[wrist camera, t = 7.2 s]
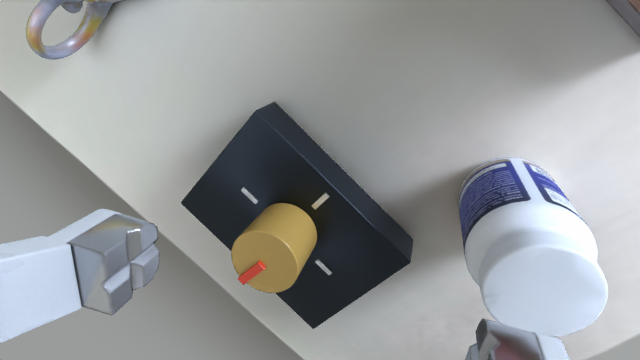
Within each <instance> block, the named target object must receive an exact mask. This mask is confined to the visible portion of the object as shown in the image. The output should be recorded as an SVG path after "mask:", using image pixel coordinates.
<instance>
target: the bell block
mask: <svg viewBox="0 0 640 360" xmlns="http://www.w3.org/2000/svg"><path fill="white" fill-rule="evenodd" d="M607 1H608V2H609V3H610V4H611V5H612V7H613V8H614V9H615V10H616V11H617V12H618V13H619V14H620V15H621V16H622V18H623V19H624V20H625V21H626V22H627V23H628V24H629V25H630V26H631V27H632V29H633V30H634V31H635V32H636V33H637V34H638V35H639V36H640V0H607Z"/></svg>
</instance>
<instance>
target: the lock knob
mask: <svg viewBox="0 0 640 360" xmlns="http://www.w3.org/2000/svg"><path fill="white" fill-rule="evenodd" d="M316 242H317V231H316V227H315V225H314V223H313V221H312V219H311V218H310V217H309V215H308V214H307V213H306V212H304V211H303V210H302V209H300V208H299V207H297V206H295V205H292V204H287V203H277V204H273V205H270V206H268V207H267V208H266V209H265V210H264V211H263V212H262V213H261V214H260V215H259V216H258V217H257V218H256V219H255V220H254V221H253V222H252V223H251V224H250V225H249V226H248V227H247V228H246V229H245V231H244V232H243V233H242V234H241V235H240V236H239V237H238V238H237V239H236V240H235V242H234V244H233V247H232V252H231V257H232V262H233V265H234V268H235V270H236V271H237V273H238V274H239V277H238V280H239V281H240V282H241V283H242V284H243V285H244V284H245V283H247V284H249V285H250V286H252V287H253V288H255V289H257V290H260V291H263V292H268V293H278V292H282V291H284V290H286V289H288V288H290V287H291V286H292V285H293V284H294V282H295V281H296V279H297V277H298V275H299V274H300V272H301V270H302V268H303V267H304V265H305V263H306V261H307V260H308V258H309V256H310V254H311V252H312V251H313V249H314V247H315V245H316Z"/></svg>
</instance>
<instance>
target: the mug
mask: <svg viewBox="0 0 640 360" xmlns="http://www.w3.org/2000/svg"><path fill="white" fill-rule="evenodd" d="M83 1H87V2H88V4H87V9H86V13H85V15H84V18H83V20H82V22H81V24H80V26H79V27H78V29H77V30H76V31H75V32H74V33H73V35H72V36H70V37H69V38H68V39H66V40H65V41H63V42H62V43H60V44H58V45H55V46H44V45H43V44H42V40H41V33H42V29H43V26H44V24H45V22H46V20H47V19H48V17H49V16H50V15H51V13H52V12H53V11H54V10H55V9H56V8H57V7H58V6H60V5H62V7H63V8H64V9H65V10H66V11H68V12H70V13H77V12H79V11H80V10H81V8H82V5H83V4H82V2H83ZM117 1H121V0H41V1H40V2H39V3H38V4H37V6H36V7H35V8H34V9H33V11H32V12H31V14H30V16H29V19H28V22H27V26H26V38H27V42H28V44H29V46H30V48H31V49H32V50H33V51H34V52H35V53H36V54H37V55H39V56H41V57H43V58H45V59H52V60H55V59H61V58H64V57H67V56H69V55H71V54H73V53H75V52H76V51H77V50H79V49H80V48H81V47H82V46H83V45H84V44H86V43H87V42H88V41H89V40H90V38H91V37H92V36H93V35H94V33H95V32H96V31H97V29H98V28H99V26H100V25H101V23H102V22H103V20H104V18H105V17H106V15H107V13H108V12H109V10H110V8H111V6H112V4H113V2H117Z"/></svg>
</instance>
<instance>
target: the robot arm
mask: <svg viewBox="0 0 640 360" xmlns="http://www.w3.org/2000/svg"><path fill="white" fill-rule="evenodd" d="M157 239H158V228H157V226H155V225H154V224H153V223H151V222H147V221H144V220H141V219H137V218H134V217H131V216H128V215H125V214H122V213H121V214H120V213H118V212H115V211H111V210H108V209H98V210H96V211H95V212H93V213H91V214H89V215H87V216H86V217H84V218H82V219H80V220H78V221H76V222H75V223H73V224H71V225H69V226H67V227H65V228H64V229H62V230H60V231H58V232H56V233H54V234H53V235H51V236H49V237H44V236H39V237H34V238H29V239H24V240H19V241H14V242H10V243H5V244H0V343H2V342H5V341H7V340H9V339H11V338H14V337H16V336H18V335H21V334H23V333H25V332H28V331H30V330H32V329H35V328H37V327H39V326H41V325H44V324H46V323H48V322H51V321H53V320H55V319H57V318H60V317H62V316H65V315H67V314H69V313H71V312H74V311H76V310H78V309H80V308H82V306H83V307H86V308H89V309H93V310H96V311H99V312H102V313H105V314H108V315H111V316H112V315H113V314H114V313H116V312H117V311H118V310H119V309H120V308H121V307H122V306H123V305H124V304H125V303H127V302H128V301H129V300H130V299H131V298H132V294H133V290H136V289H138V288H141V287H144V286H145V285H147V284H148V283H149V282H150V281H151V280H152V279H153V277H154V275H155V273H156V272H157V270H158V267H159V262H160V252H159V251H158V249H157V247H156V246H155V244H154V243H155V242H156V241H157ZM476 340H477V343H476V344H474V345H472V346H470V347H469V350H468V353H467V355H466V358H465V360H569V357H568V355H567V352H566V350H565V347H564V345H563V342H562V341H561V340H560V339H559V338H555V337H551V336H548V335H544V334H540V333H536V332H530V331H526V330H523V329H519V328H516V327H512V326H508V325H505V324H501V323H498V322H494V321H491V320H487V319H484V318H483V319H482V320H481V321H480V323H479V325H478V327H477V330H476Z"/></svg>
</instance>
